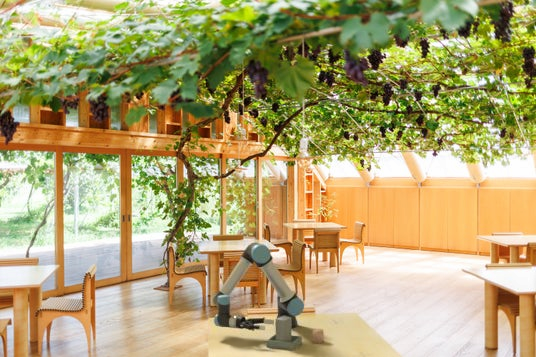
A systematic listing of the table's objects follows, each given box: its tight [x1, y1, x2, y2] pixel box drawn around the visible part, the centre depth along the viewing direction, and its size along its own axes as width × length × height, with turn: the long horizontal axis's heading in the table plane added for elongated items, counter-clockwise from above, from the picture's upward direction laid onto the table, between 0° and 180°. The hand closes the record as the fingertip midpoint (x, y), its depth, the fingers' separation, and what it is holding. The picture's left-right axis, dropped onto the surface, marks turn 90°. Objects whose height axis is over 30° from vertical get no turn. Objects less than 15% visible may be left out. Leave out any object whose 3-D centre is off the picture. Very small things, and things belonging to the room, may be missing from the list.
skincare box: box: [275, 316, 293, 343], centre depth 301 cm, size 8×7×16 cm
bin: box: [266, 333, 303, 351], centre depth 301 cm, size 17×15×4 cm
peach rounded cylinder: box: [312, 328, 325, 344], centre depth 306 cm, size 6×6×7 cm
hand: (269, 325), depth 305 cm, fingers open, 13 cm apart
